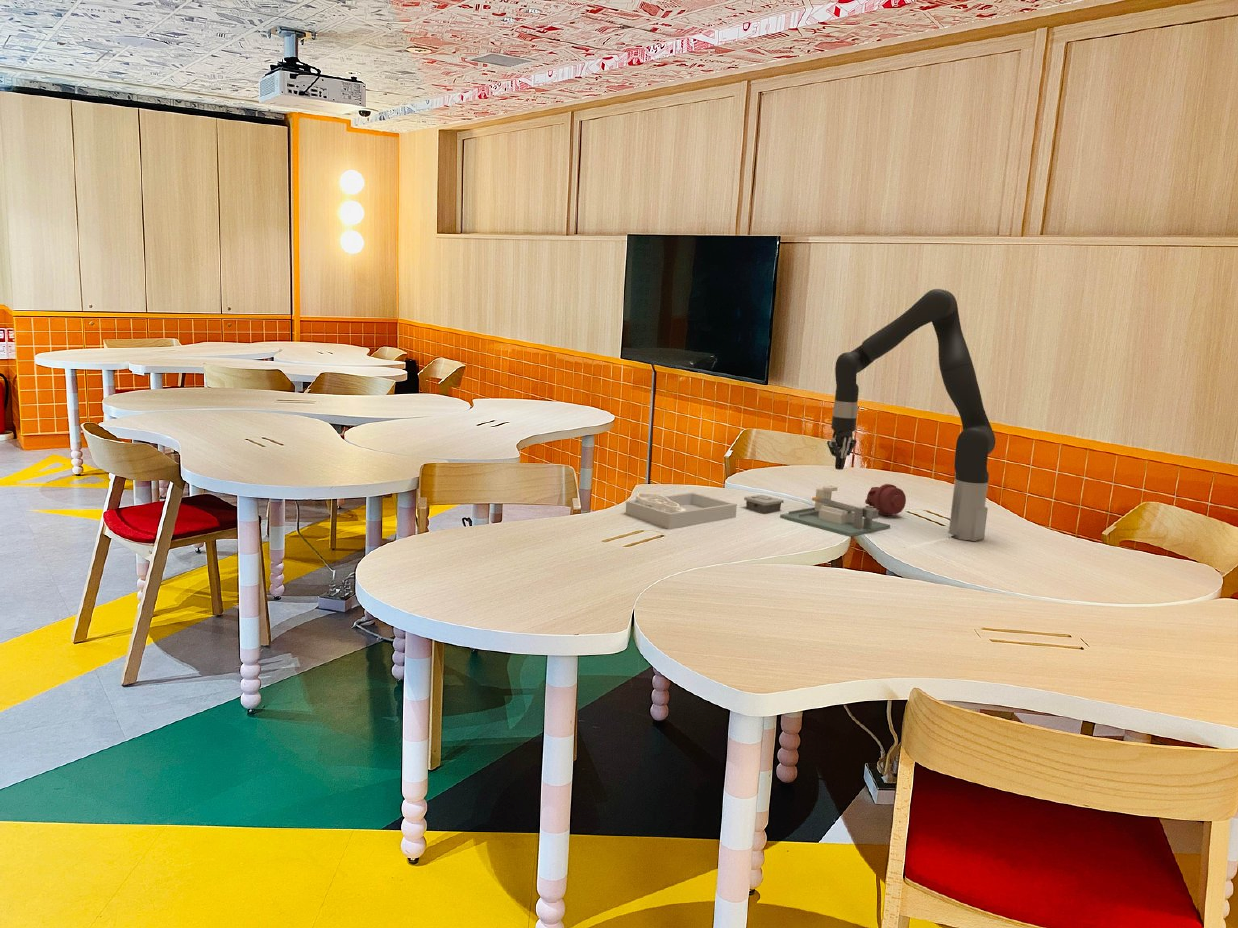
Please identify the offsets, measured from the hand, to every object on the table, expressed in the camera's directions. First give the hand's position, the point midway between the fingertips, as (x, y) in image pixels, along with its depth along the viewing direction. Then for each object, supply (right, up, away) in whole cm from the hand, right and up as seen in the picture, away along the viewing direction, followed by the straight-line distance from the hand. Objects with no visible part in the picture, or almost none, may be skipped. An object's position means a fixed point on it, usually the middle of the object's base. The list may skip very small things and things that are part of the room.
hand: (839, 469), depth 299 cm
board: (-5, -16, -14) cm, 22 cm away
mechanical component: (+15, -15, +1) cm, 21 cm away
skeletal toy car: (-58, -16, -20) cm, 64 cm away
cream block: (-6, -13, -2) cm, 15 cm away
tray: (-52, -14, -17) cm, 56 cm away
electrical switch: (-28, -14, -5) cm, 31 cm away
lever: (-3, -12, -17) cm, 21 cm away
